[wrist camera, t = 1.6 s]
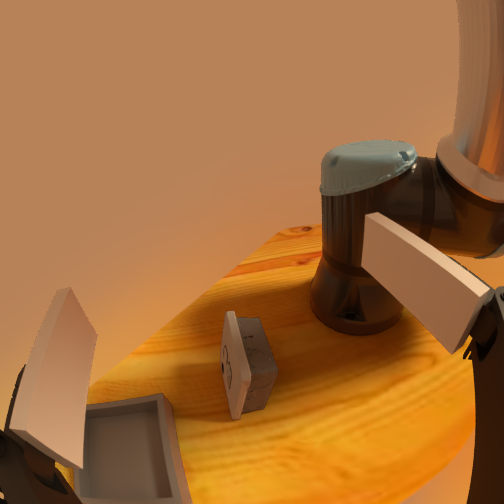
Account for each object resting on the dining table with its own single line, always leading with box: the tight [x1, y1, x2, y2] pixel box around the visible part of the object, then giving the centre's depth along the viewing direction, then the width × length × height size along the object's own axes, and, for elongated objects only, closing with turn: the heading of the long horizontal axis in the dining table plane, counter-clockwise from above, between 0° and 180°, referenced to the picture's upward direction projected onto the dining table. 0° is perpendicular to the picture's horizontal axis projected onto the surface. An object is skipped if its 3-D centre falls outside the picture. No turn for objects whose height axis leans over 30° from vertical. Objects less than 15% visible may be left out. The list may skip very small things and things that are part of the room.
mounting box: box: [74, 393, 193, 504], centre depth 21 cm, size 13×14×3 cm
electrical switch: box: [220, 311, 278, 420], centre depth 28 cm, size 9×5×9 cm, turn 13°
